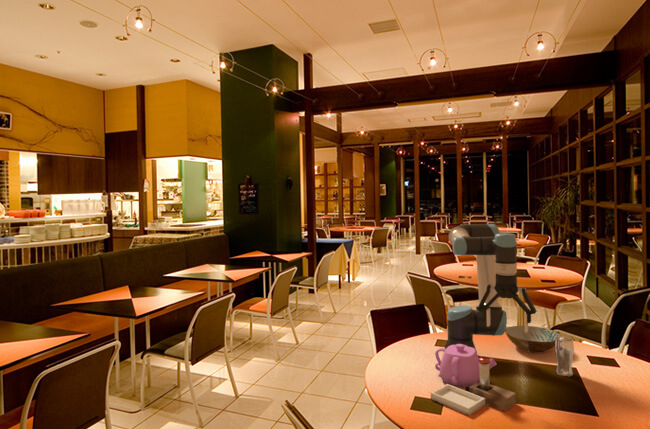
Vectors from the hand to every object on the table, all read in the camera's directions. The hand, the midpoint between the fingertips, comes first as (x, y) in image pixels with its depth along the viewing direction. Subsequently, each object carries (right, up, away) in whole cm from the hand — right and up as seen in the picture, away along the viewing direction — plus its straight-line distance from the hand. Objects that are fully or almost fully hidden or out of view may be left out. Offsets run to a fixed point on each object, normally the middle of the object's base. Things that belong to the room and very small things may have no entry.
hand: (507, 328), depth 154 cm
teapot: (-11, -26, +15) cm, 32 cm away
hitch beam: (-7, -26, -4) cm, 27 cm away
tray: (-21, -26, -5) cm, 34 cm away
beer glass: (+32, -24, +17) cm, 44 cm away
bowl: (+34, -24, +46) cm, 62 cm away
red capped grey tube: (-9, -26, -2) cm, 28 cm away
